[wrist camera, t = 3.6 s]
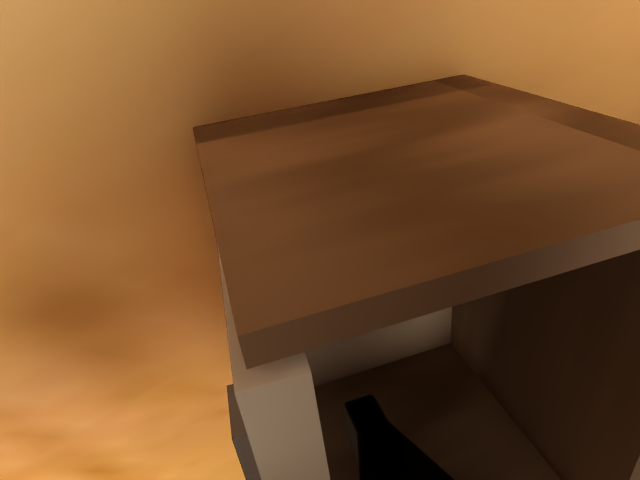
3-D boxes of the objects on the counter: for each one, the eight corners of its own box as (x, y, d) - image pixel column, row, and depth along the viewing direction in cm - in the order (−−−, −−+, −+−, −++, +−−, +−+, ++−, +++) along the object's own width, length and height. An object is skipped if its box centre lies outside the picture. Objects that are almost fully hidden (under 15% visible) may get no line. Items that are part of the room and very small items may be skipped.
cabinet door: (246, 170, 11) (311, 371, 5) (293, 393, 15) (359, 642, 9) (196, 180, 11) (207, 400, 5) (258, 403, 15) (303, 664, 9)
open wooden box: (463, 74, 13) (802, 171, 6) (452, 320, 18) (635, 531, 11) (192, 127, 12) (236, 336, 5) (259, 381, 17) (330, 669, 10)
